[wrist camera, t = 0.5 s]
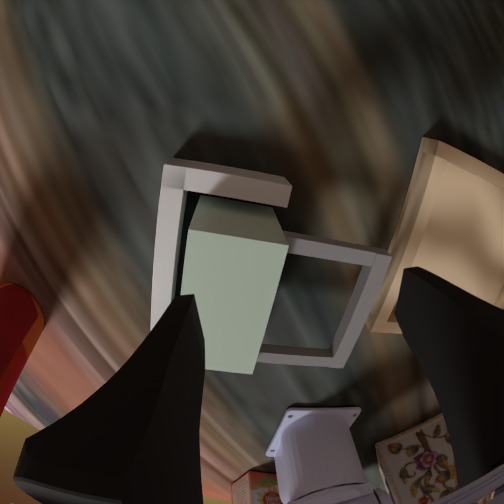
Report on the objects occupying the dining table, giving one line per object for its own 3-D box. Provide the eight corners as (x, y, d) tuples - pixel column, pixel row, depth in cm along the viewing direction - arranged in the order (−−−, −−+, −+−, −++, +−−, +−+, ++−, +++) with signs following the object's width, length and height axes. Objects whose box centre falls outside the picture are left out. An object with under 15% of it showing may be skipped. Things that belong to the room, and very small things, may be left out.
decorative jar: (444, 439, 36) (484, 524, 20) (378, 470, 37) (408, 562, 21) (452, 403, 31) (508, 507, 15) (373, 441, 32) (413, 559, 16)
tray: (484, 323, 25) (494, 335, 24) (361, 316, 23) (370, 331, 21) (537, 197, 20) (551, 204, 18) (422, 136, 18) (439, 140, 16)
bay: (284, 177, 19) (292, 186, 16) (245, 336, 23) (247, 359, 21) (172, 157, 18) (164, 164, 15) (156, 323, 22) (150, 345, 20)
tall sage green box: (359, 224, 20) (400, 265, 15) (324, 322, 23) (347, 378, 18) (200, 194, 19) (188, 229, 13) (185, 305, 22) (174, 364, 16)
